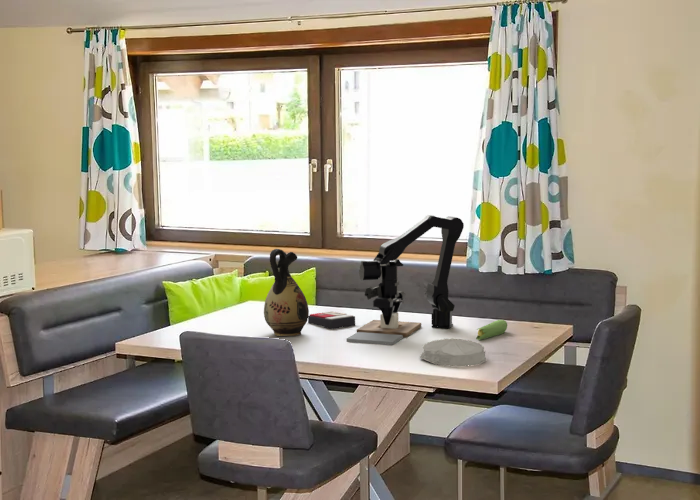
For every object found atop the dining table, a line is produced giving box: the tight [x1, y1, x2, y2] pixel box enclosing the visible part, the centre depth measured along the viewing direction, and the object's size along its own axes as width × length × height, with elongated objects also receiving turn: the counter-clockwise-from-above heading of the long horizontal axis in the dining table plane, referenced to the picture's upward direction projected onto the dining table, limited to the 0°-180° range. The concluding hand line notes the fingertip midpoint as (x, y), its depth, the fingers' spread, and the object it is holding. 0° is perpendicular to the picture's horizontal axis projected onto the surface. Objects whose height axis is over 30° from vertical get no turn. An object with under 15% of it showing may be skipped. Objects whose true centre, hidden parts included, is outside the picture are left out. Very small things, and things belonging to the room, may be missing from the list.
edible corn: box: [475, 319, 508, 341], centre depth 293 cm, size 5×20×5 cm
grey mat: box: [346, 331, 404, 346], centre depth 289 cm, size 16×11×1 cm
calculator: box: [307, 311, 356, 330], centre depth 316 cm, size 11×4×15 cm
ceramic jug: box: [263, 248, 310, 337], centre depth 297 cm, size 17×15×30 cm
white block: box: [379, 312, 399, 329], centre depth 303 cm, size 5×5×6 cm
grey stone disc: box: [419, 337, 487, 367], centre depth 262 cm, size 20×20×7 cm
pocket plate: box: [356, 319, 422, 338], centre depth 304 cm, size 18×18×2 cm
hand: (389, 323), depth 303 cm, fingers closed on white block, 5 cm apart
